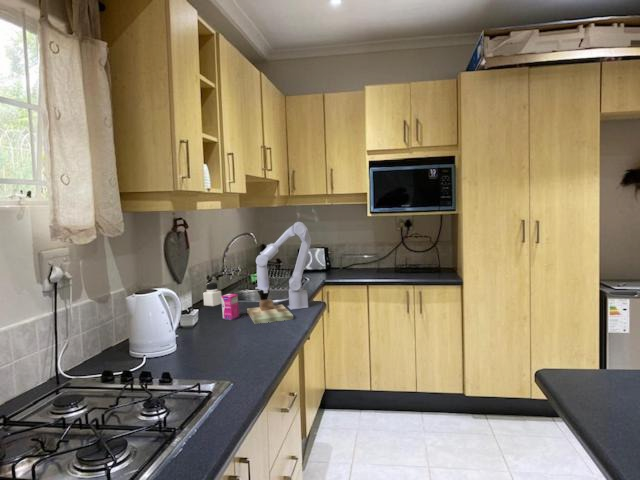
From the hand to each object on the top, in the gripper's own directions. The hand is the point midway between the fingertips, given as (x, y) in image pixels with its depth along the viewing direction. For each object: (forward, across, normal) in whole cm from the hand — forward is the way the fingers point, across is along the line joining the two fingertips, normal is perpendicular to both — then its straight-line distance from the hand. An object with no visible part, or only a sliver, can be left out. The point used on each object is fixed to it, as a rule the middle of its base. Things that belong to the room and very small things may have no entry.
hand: (264, 304), depth 236 cm
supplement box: (+3, +9, -18) cm, 20 cm away
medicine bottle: (+3, -27, -24) cm, 36 cm away
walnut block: (+1, +6, 0) cm, 6 cm away
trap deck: (+3, +13, 0) cm, 14 cm away
